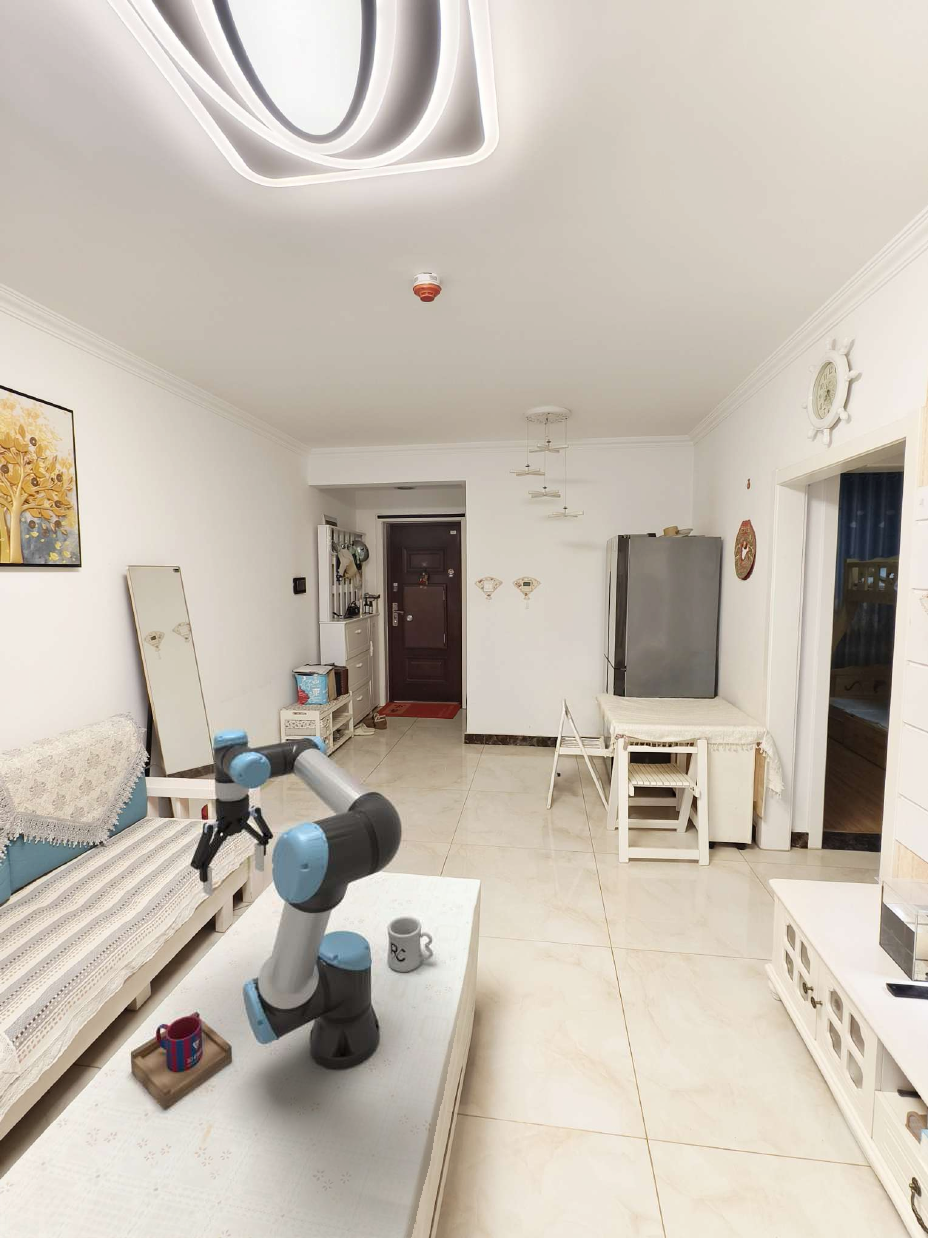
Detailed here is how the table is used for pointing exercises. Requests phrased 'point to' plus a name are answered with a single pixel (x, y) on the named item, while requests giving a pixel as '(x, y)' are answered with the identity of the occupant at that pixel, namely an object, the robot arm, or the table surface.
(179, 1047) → the cup
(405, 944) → the mug
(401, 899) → the table surface
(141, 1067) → the tan flat rimmed tray
